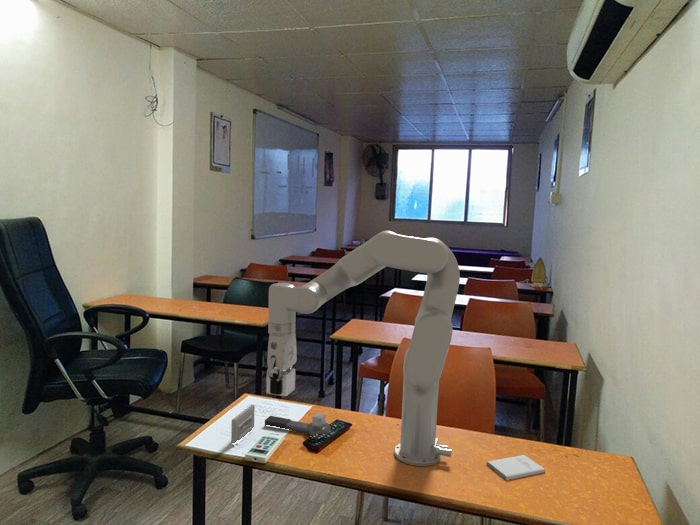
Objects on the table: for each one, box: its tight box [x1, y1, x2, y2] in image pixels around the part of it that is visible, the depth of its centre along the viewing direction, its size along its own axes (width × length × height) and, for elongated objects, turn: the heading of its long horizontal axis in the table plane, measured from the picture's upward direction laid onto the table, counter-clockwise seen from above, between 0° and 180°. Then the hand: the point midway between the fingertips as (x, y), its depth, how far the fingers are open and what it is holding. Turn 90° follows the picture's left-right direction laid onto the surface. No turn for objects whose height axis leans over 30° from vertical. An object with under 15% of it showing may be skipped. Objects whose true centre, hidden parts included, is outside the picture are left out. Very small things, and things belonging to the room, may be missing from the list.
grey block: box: [265, 367, 296, 397], centre depth 140 cm, size 6×6×6 cm
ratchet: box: [264, 412, 331, 438], centre depth 149 cm, size 20×7×6 cm, turn 72°
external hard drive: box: [486, 454, 546, 481], centre depth 131 cm, size 2×8×12 cm
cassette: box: [230, 404, 255, 444], centre depth 143 cm, size 12×2×8 cm, turn 163°
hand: (281, 389), depth 140 cm, fingers closed on grey block, 6 cm apart
